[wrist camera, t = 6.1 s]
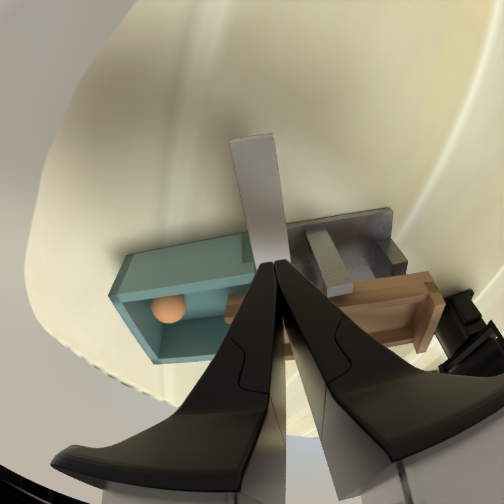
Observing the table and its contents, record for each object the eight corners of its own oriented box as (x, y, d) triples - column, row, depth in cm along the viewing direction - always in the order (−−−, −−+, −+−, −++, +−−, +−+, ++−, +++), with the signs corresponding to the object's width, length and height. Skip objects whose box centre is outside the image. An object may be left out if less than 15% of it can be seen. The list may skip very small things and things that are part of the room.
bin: (267, 309, 27) (272, 352, 23) (162, 324, 28) (154, 364, 23) (250, 231, 22) (255, 272, 18) (126, 255, 23) (107, 295, 19)
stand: (381, 287, 26) (410, 343, 20) (274, 309, 27) (284, 373, 21) (389, 207, 21) (435, 258, 15) (259, 228, 22) (269, 293, 16)
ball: (175, 301, 26) (197, 312, 24) (152, 321, 24) (173, 335, 22) (164, 276, 24) (186, 287, 22) (138, 297, 22) (159, 310, 21)
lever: (413, 323, 20) (424, 353, 18) (243, 343, 22) (240, 376, 20) (446, 125, 12) (480, 142, 9) (185, 147, 14) (165, 168, 11)
